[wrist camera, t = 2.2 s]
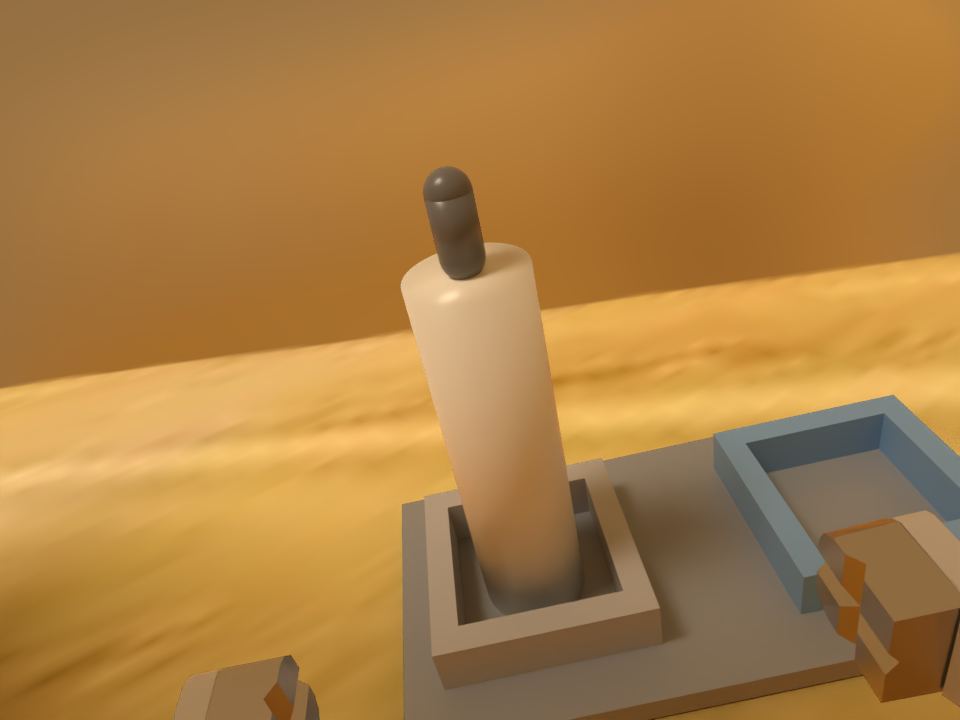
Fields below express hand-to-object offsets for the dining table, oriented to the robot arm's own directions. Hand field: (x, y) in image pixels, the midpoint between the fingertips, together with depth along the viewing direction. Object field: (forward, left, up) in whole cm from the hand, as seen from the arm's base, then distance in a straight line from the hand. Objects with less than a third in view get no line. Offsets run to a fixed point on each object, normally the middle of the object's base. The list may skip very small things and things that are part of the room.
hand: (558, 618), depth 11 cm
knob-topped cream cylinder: (0, +12, -14) cm, 18 cm away
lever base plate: (+6, +12, -15) cm, 20 cm away
